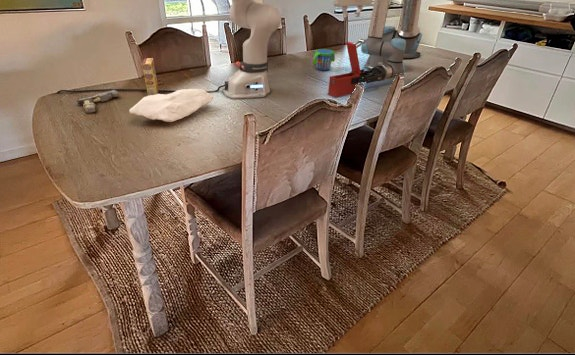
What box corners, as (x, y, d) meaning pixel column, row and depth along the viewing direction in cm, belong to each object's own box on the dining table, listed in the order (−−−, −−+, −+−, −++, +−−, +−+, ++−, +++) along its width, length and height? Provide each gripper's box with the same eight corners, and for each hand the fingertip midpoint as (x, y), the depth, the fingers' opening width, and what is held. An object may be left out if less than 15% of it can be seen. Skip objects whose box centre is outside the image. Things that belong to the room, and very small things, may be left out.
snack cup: (328, 65, 219) (329, 47, 214) (339, 69, 212) (341, 51, 206) (307, 68, 212) (308, 50, 206) (318, 73, 204) (319, 54, 199)
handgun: (128, 97, 156) (111, 87, 164) (86, 107, 144) (70, 97, 152) (129, 103, 157) (113, 94, 165) (88, 114, 146) (72, 103, 154)
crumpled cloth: (117, 110, 146) (113, 90, 140) (195, 92, 166) (194, 73, 160) (143, 139, 134) (140, 118, 128) (223, 116, 154) (224, 96, 148)
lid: (353, 45, 164) (366, 35, 166) (346, 42, 168) (358, 33, 170) (359, 74, 175) (371, 65, 177) (351, 71, 178) (363, 62, 180)
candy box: (157, 97, 164) (152, 63, 155) (147, 98, 163) (141, 63, 155) (158, 91, 171) (153, 57, 163) (149, 91, 170) (143, 58, 162)
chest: (335, 97, 173) (337, 79, 168) (328, 94, 176) (329, 76, 171) (357, 92, 180) (360, 74, 175) (350, 89, 184) (352, 72, 179)
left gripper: (342, -18, 145) (338, 19, 152) (377, -19, 155) (372, 16, 162) (331, -19, 149) (328, 17, 156) (367, -20, 159) (362, 14, 166)
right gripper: (393, 85, 183) (359, 92, 171) (366, 75, 195) (334, 81, 184) (395, 70, 179) (362, 77, 167) (369, 61, 191) (335, 67, 180)
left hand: (351, 17), depth 159 cm, fingers open, 5 cm apart
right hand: (347, 79), depth 176 cm, fingers closed on chest, 5 cm apart
